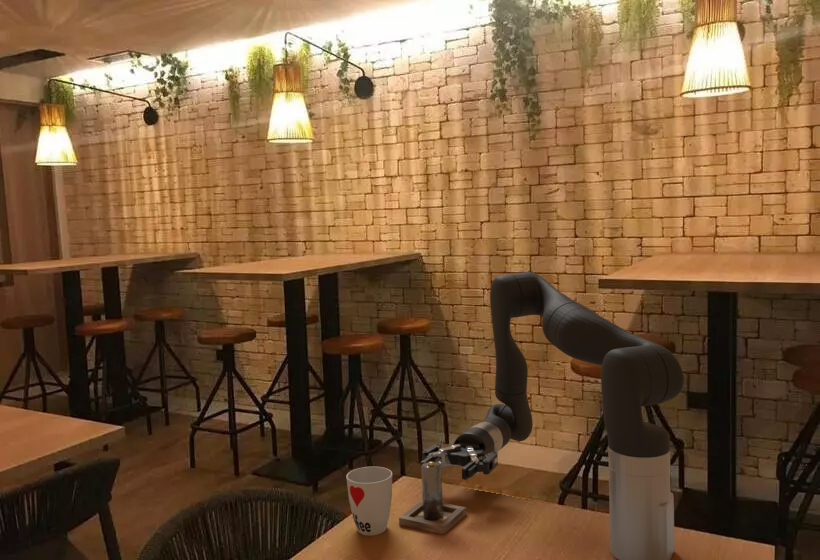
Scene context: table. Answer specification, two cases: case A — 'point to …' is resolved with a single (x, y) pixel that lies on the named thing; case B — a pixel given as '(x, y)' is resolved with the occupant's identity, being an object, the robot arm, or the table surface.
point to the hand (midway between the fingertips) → (443, 471)
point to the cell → (432, 491)
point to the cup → (370, 498)
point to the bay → (438, 526)
